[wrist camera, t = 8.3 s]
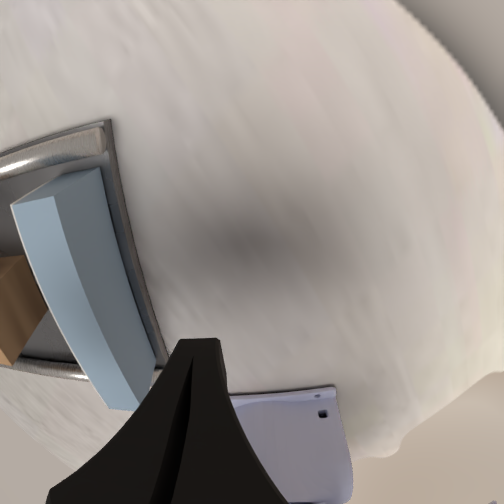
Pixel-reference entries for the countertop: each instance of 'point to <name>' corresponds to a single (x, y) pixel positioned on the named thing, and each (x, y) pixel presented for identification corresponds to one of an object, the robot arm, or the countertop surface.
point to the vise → (103, 155)
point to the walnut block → (17, 307)
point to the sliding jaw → (87, 284)
